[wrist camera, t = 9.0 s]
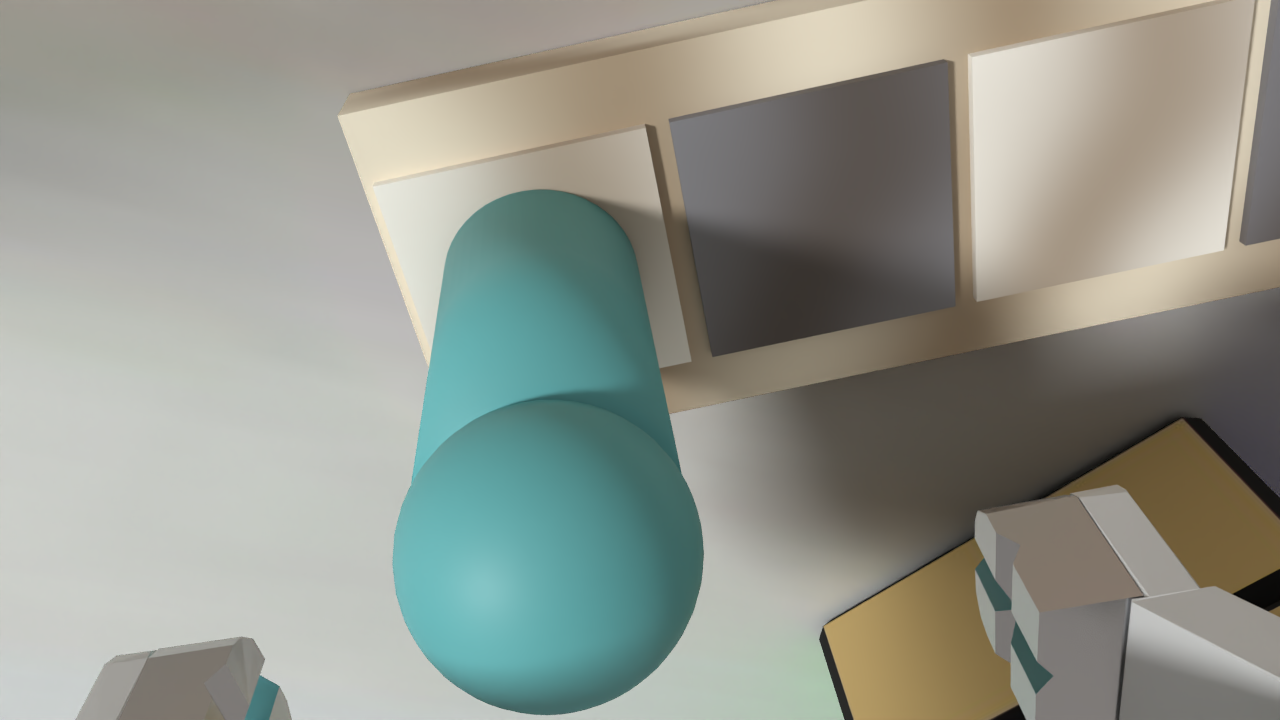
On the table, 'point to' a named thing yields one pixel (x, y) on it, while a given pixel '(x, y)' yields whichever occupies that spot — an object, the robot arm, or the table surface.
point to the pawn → (545, 469)
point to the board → (864, 173)
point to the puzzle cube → (946, 588)
